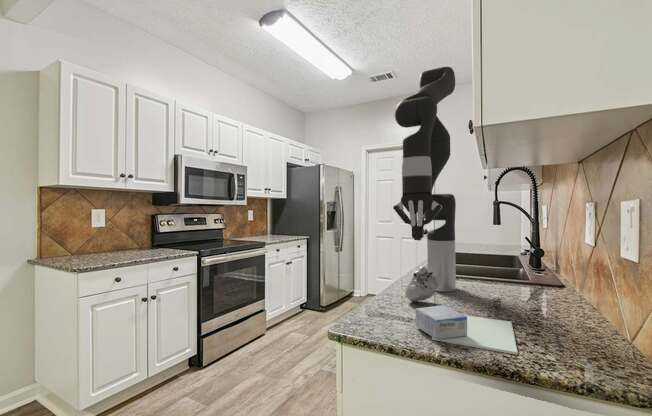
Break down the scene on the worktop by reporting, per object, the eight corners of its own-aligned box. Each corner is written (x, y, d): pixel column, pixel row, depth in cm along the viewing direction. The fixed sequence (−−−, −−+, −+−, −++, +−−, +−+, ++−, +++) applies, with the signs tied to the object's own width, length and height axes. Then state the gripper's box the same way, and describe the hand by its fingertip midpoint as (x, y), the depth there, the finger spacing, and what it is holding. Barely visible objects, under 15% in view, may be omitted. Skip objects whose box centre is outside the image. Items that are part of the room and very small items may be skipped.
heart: (445, 301, 94) (438, 261, 95) (440, 309, 86) (431, 266, 87) (412, 302, 99) (405, 264, 100) (404, 310, 91) (396, 269, 92)
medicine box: (415, 325, 75) (436, 341, 66) (414, 307, 75) (436, 320, 66) (443, 322, 77) (468, 336, 68) (443, 304, 77) (468, 316, 68)
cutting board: (442, 314, 84) (442, 312, 84) (511, 323, 77) (511, 321, 77) (431, 339, 68) (431, 337, 68) (517, 354, 61) (517, 352, 61)
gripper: (444, 174, 83) (445, 239, 84) (395, 177, 89) (396, 237, 90) (441, 172, 76) (442, 243, 77) (388, 175, 83) (389, 240, 83)
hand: (417, 239), depth 83 cm, fingers closed
